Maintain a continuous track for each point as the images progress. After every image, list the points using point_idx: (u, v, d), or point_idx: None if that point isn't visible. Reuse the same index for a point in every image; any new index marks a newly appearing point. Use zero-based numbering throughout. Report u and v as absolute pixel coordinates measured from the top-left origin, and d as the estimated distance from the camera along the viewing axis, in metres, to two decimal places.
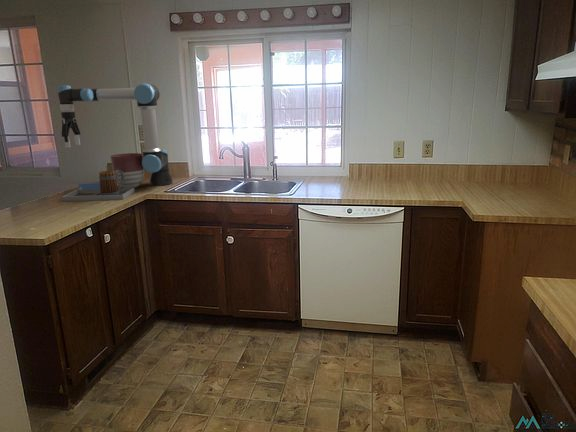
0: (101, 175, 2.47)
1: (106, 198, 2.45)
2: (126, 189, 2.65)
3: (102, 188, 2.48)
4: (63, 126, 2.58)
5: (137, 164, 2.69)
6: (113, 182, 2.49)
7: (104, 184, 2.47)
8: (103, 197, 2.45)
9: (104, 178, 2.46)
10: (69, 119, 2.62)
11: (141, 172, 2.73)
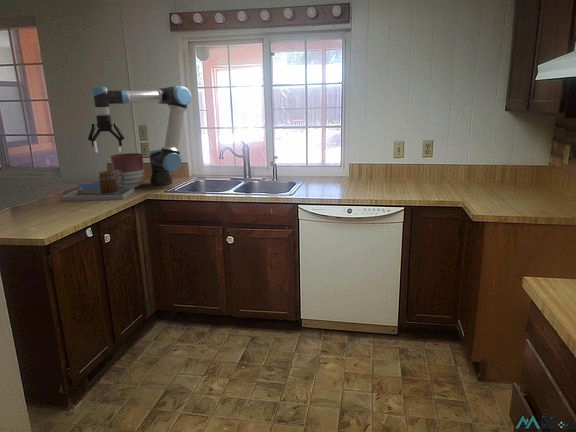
0: (101, 175, 2.47)
1: (106, 198, 2.45)
2: (126, 189, 2.65)
3: (102, 188, 2.48)
4: None
5: (137, 164, 2.69)
6: (113, 182, 2.49)
7: (104, 184, 2.47)
8: (103, 197, 2.45)
9: (104, 178, 2.46)
10: (100, 123, 2.43)
11: (141, 172, 2.73)
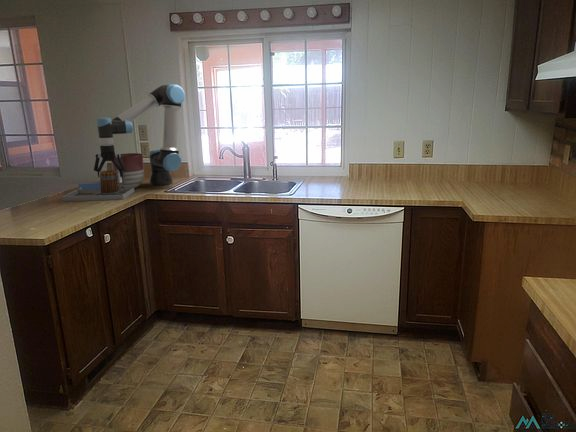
0: (102, 175, 2.47)
1: (106, 198, 2.45)
2: (126, 189, 2.65)
3: (102, 188, 2.48)
4: None
5: (137, 164, 2.69)
6: (114, 182, 2.49)
7: (105, 184, 2.47)
8: (103, 197, 2.45)
9: (105, 178, 2.46)
10: (103, 153, 2.48)
11: (141, 172, 2.73)
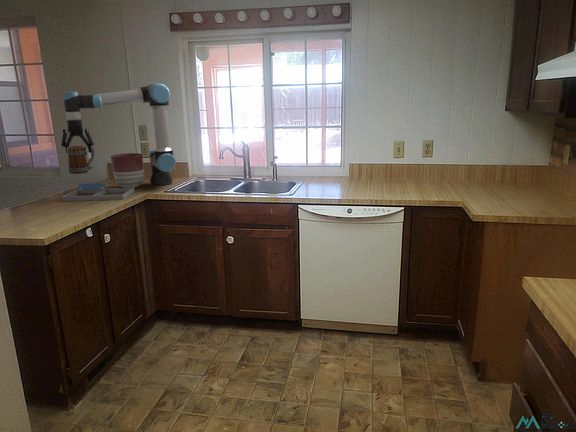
0: (69, 150, 2.42)
1: (106, 198, 2.45)
2: (126, 189, 2.65)
3: (70, 163, 2.44)
4: None
5: (137, 164, 2.69)
6: (82, 157, 2.45)
7: (72, 159, 2.43)
8: (103, 197, 2.45)
9: (72, 153, 2.42)
10: (71, 127, 2.43)
11: (141, 172, 2.73)
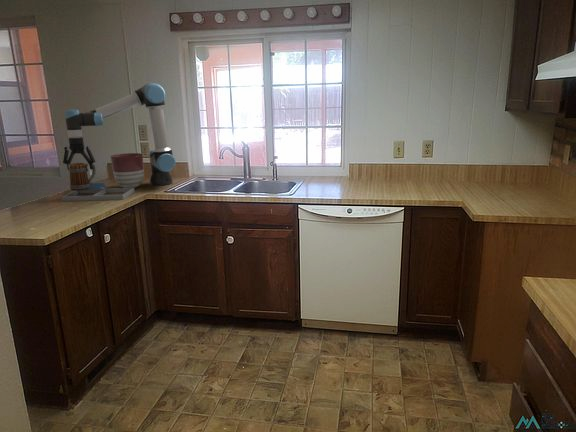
0: (71, 167, 2.45)
1: (106, 198, 2.45)
2: (126, 189, 2.65)
3: (72, 180, 2.47)
4: None
5: (137, 164, 2.69)
6: (83, 174, 2.48)
7: (74, 176, 2.46)
8: (103, 197, 2.45)
9: (74, 170, 2.45)
10: (72, 145, 2.46)
11: (141, 172, 2.73)
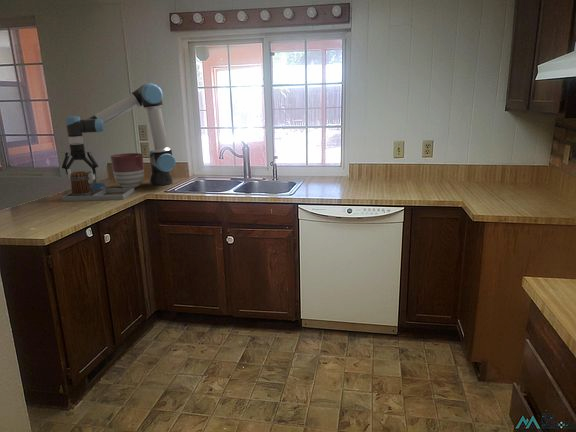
0: (72, 176, 2.46)
1: (106, 198, 2.45)
2: (126, 189, 2.65)
3: (73, 189, 2.48)
4: None
5: (137, 164, 2.69)
6: (84, 183, 2.49)
7: (75, 185, 2.47)
8: (103, 197, 2.45)
9: (75, 179, 2.46)
10: (73, 152, 2.47)
11: (141, 172, 2.73)
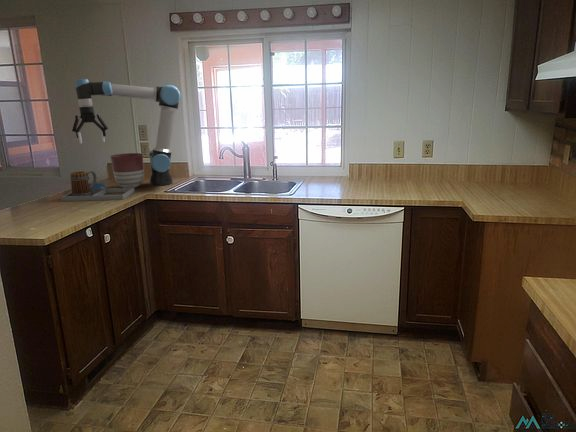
0: (72, 176, 2.46)
1: (106, 198, 2.45)
2: (126, 189, 2.65)
3: (73, 189, 2.48)
4: None
5: (137, 164, 2.69)
6: (84, 183, 2.49)
7: (75, 185, 2.47)
8: (103, 197, 2.45)
9: (75, 179, 2.46)
10: (83, 114, 2.51)
11: (141, 172, 2.73)
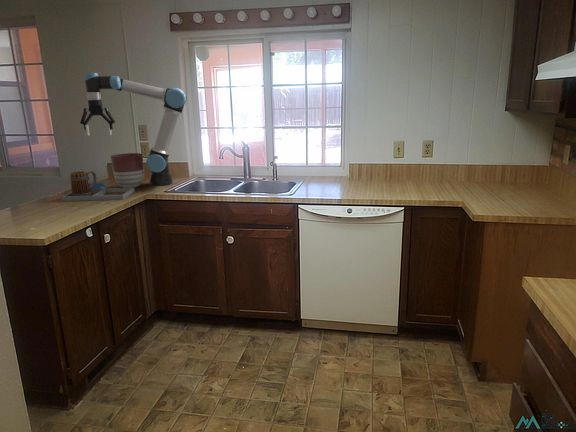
0: (72, 176, 2.46)
1: (106, 198, 2.45)
2: (126, 189, 2.65)
3: (73, 189, 2.48)
4: None
5: (137, 164, 2.69)
6: (84, 183, 2.49)
7: (75, 185, 2.47)
8: (103, 197, 2.45)
9: (75, 179, 2.46)
10: (92, 107, 2.57)
11: (141, 172, 2.73)
